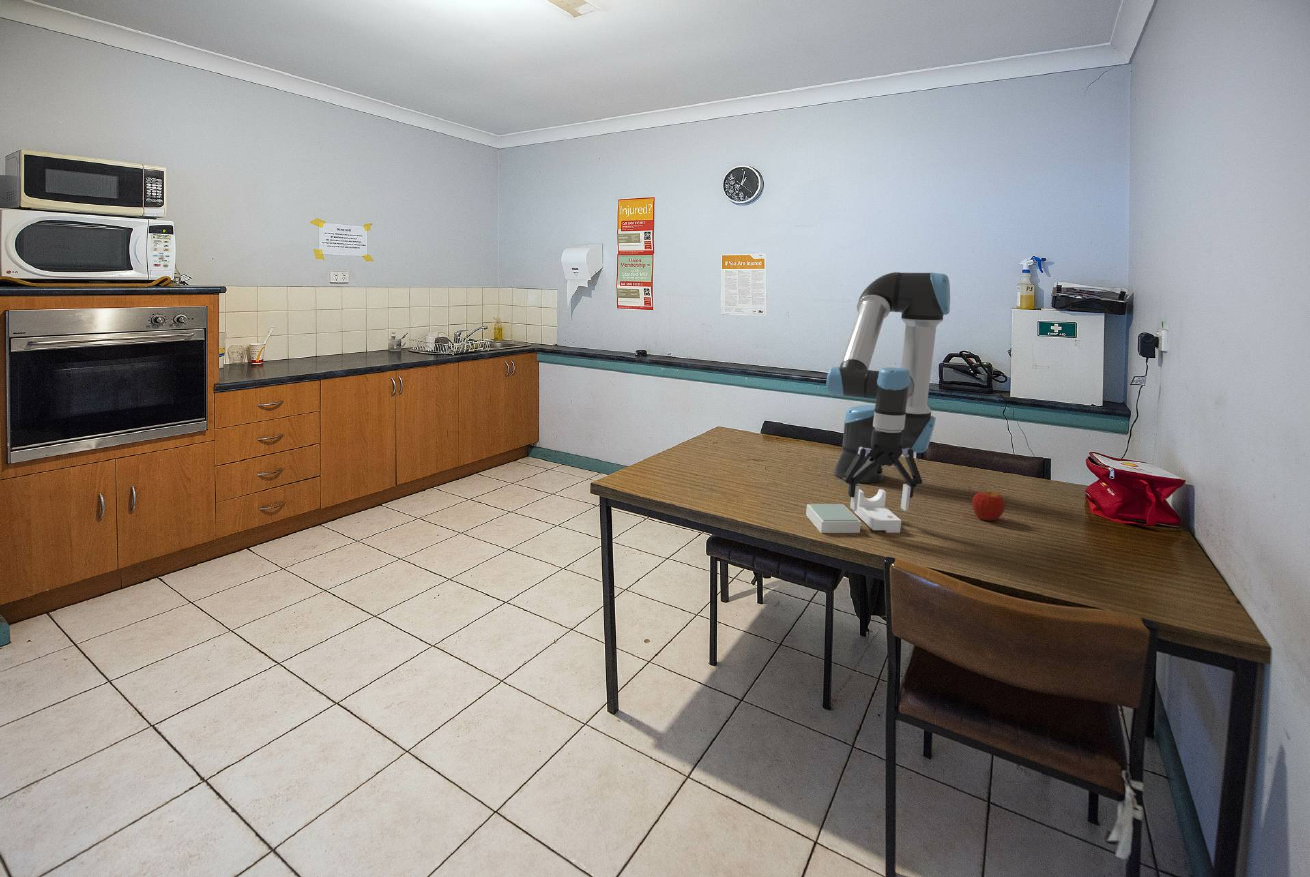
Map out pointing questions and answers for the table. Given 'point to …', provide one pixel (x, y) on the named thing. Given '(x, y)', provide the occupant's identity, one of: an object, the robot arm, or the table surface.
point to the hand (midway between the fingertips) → (878, 509)
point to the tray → (833, 518)
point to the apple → (988, 505)
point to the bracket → (877, 513)
